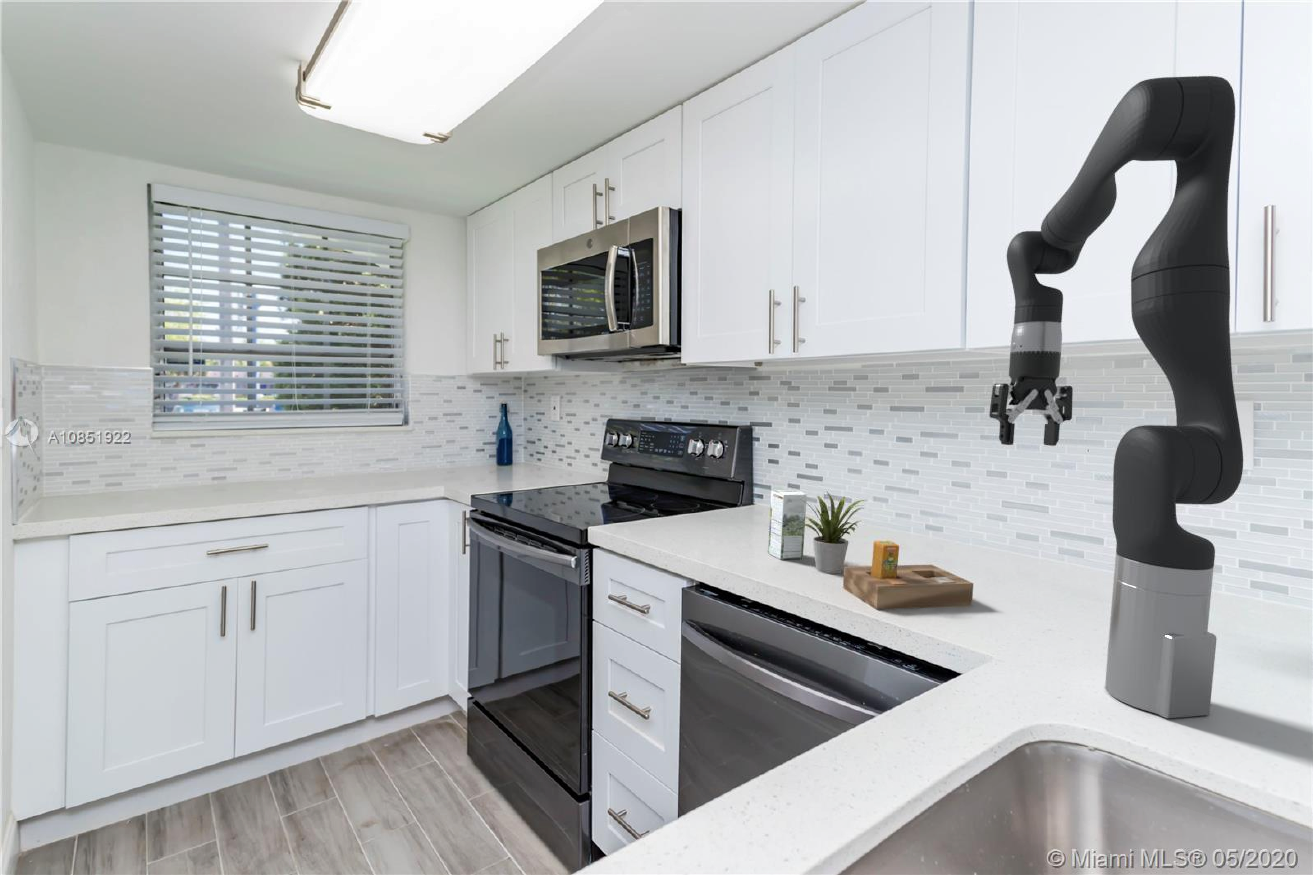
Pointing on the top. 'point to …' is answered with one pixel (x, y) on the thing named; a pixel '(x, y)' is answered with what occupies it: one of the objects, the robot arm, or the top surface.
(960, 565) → the top surface
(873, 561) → the supplement box
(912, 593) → the socket board
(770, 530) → the syrup box
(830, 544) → the house plant
